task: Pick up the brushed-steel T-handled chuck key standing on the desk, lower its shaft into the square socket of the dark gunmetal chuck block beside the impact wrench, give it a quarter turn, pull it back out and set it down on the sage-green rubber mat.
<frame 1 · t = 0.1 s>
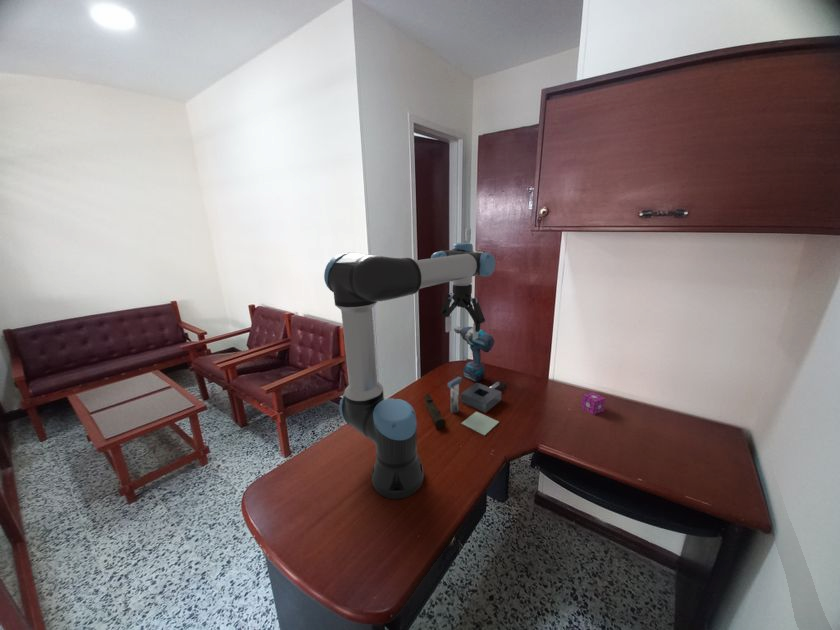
hand: (461, 335, 126), 28 cm above the table, fingers open, 13 cm apart
puzzle toy: (592, 409, 122), on the table
chuck block: (480, 401, 129), on the table
impact wrench: (471, 377, 150), on the table
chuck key: (454, 410, 123), on the table
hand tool: (431, 415, 121), on the table
mat: (480, 423, 115), on the table
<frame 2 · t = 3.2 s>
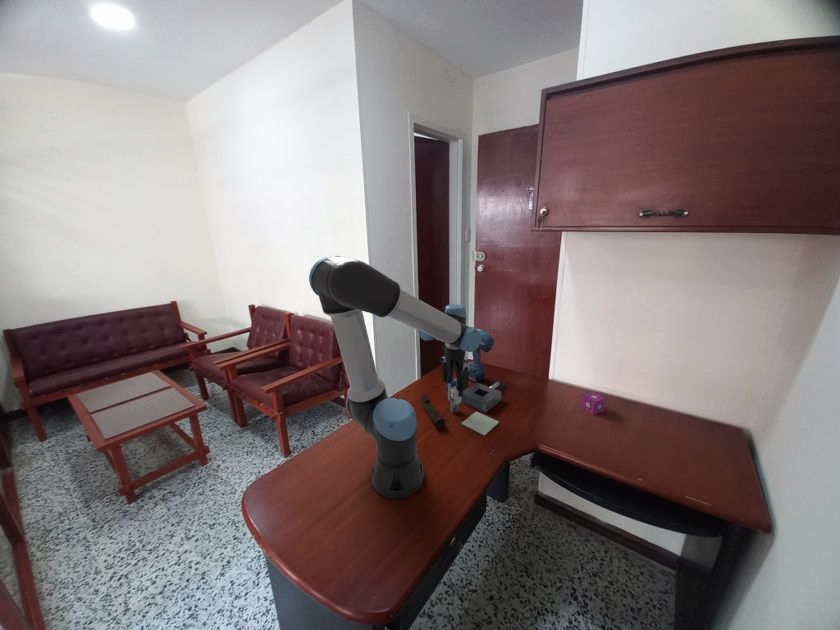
hand: (454, 400, 122), 5 cm above the table, fingers closed on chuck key, 3 cm apart
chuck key: (454, 410, 123), on the table, touching gripper
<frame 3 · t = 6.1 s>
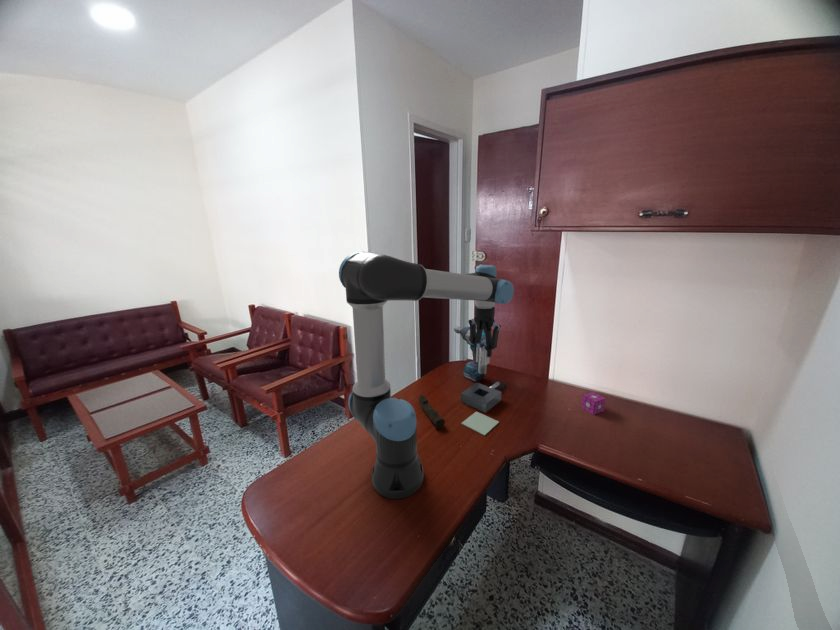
hand: (482, 362, 124), 18 cm above the table, fingers closed on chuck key, 3 cm apart
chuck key: (482, 372, 126), point 13 cm above the table, touching gripper
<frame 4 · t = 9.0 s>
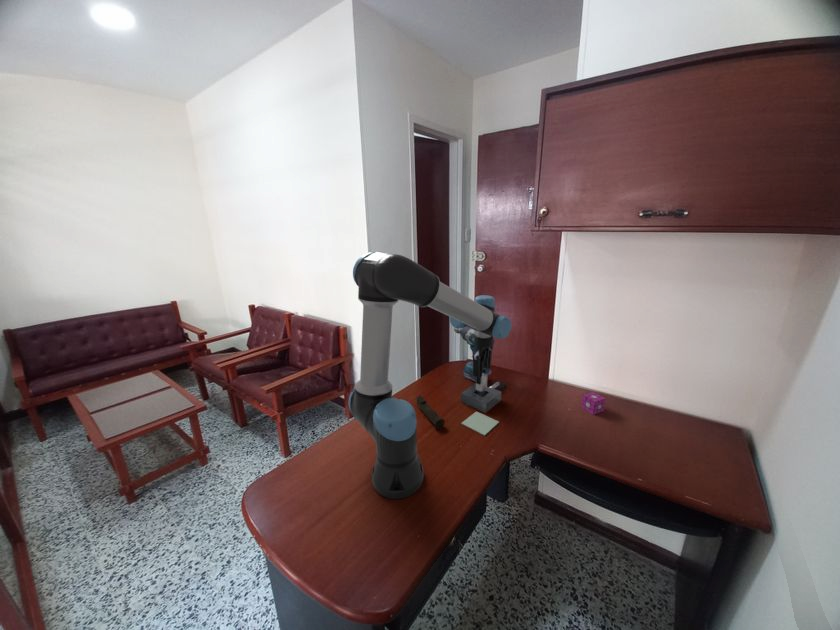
hand: (481, 388, 128), 6 cm above the table, fingers closed on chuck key, 3 cm apart
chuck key: (481, 397, 129), point 2 cm above the table, touching gripper
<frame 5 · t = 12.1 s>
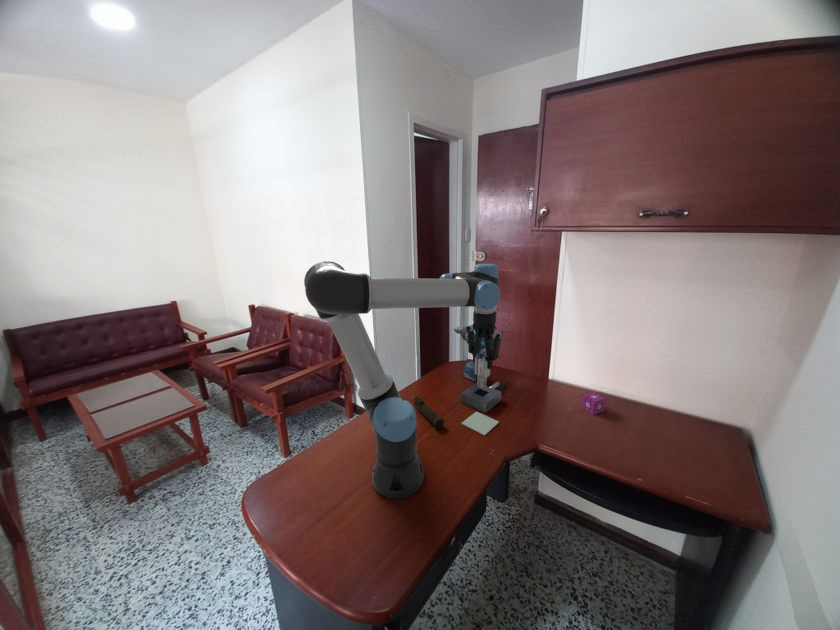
hand: (482, 374, 109), 20 cm above the table, fingers closed on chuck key, 3 cm apart
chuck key: (481, 385, 111), point 16 cm above the table, touching gripper
when the fingers open (6 cm above the table, at t = 14.8 s): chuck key drops 1 cm, resting on mat.
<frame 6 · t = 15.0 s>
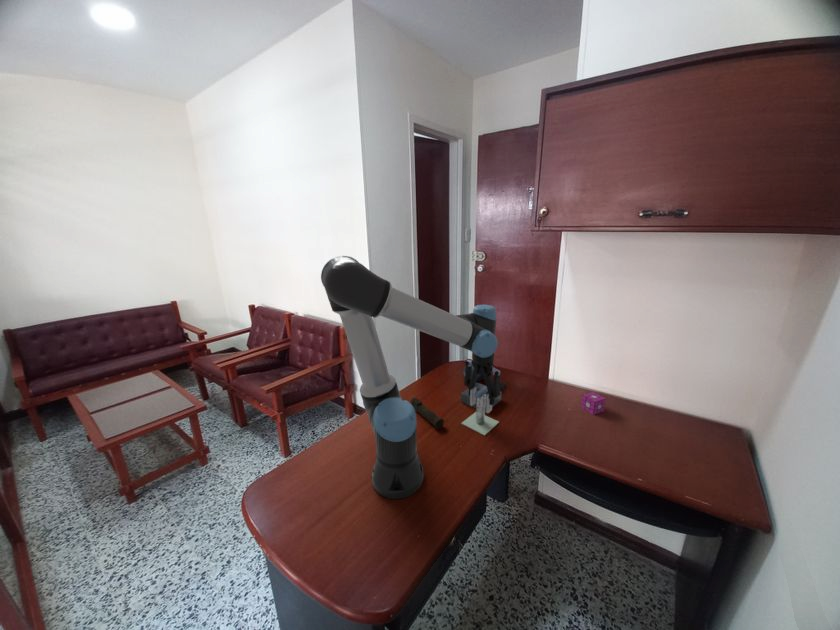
hand: (480, 407, 113), 7 cm above the table, fingers open, 6 cm apart
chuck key: (480, 422, 115), resting on mat
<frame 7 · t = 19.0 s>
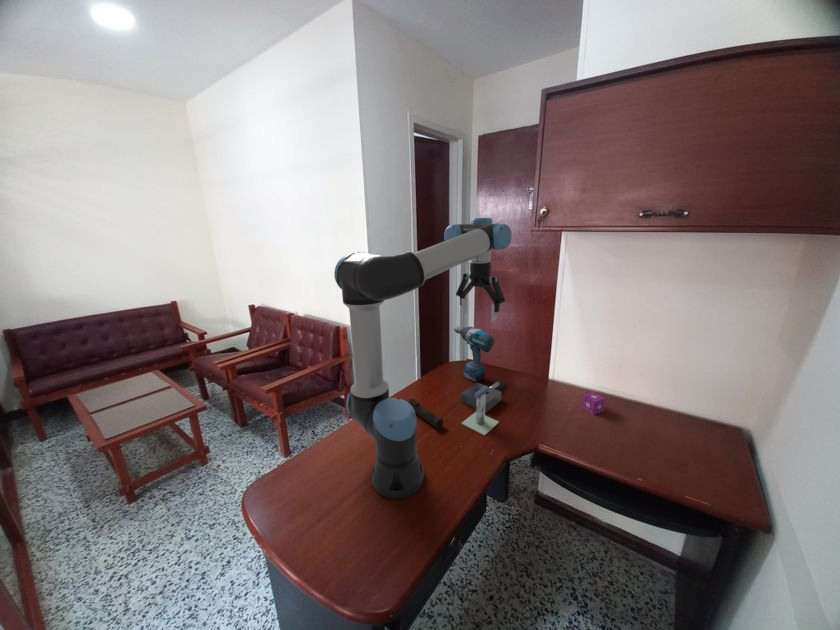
hand: (478, 317, 119), 37 cm above the table, fingers open, 13 cm apart
at the end: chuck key 0.1 cm from the mat (horizontally); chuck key resting on mat; the gripper is holding nothing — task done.
